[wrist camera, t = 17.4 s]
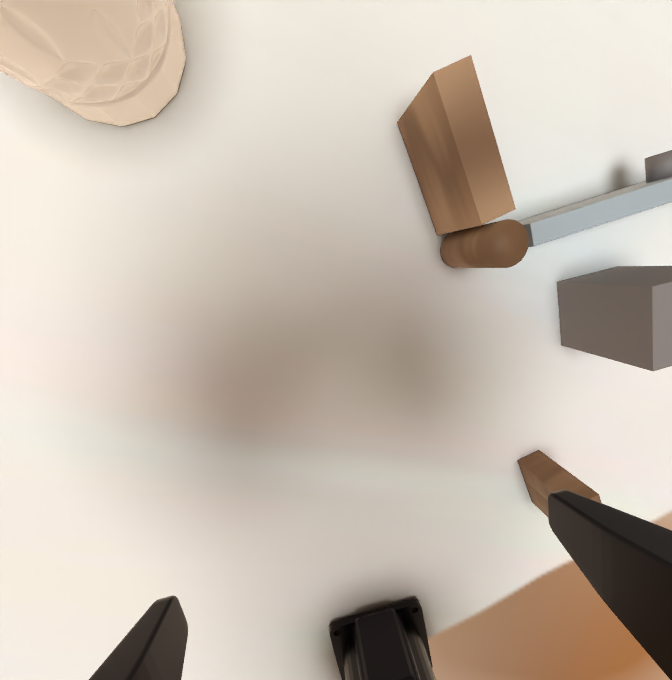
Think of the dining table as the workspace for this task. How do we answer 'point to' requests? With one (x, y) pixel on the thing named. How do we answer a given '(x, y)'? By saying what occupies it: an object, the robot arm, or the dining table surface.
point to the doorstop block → (620, 314)
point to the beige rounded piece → (96, 54)
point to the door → (606, 204)
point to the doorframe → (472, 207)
